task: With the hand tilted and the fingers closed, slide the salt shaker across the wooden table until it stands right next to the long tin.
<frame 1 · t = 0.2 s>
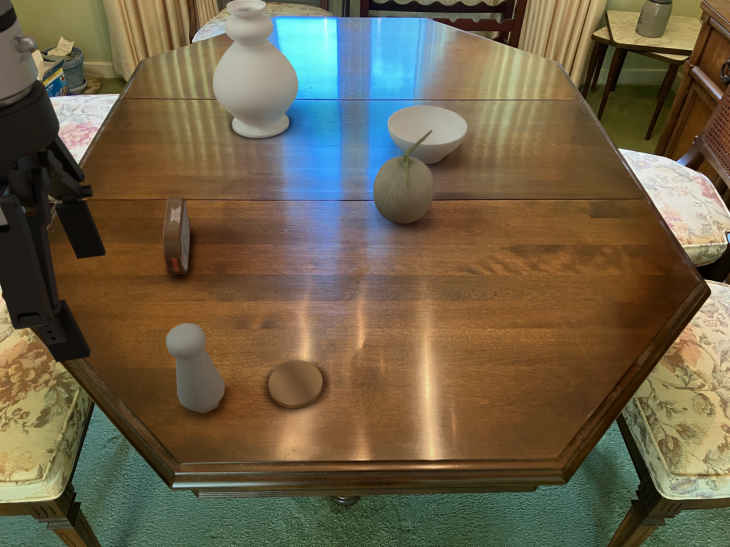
hand: (83, 301, 53), 22 cm above the table, tool pointing down, fingers open, 13 cm apart
fruit: (401, 219, 99), on the table
cork trivet: (296, 385, 72), on the table
bowl: (424, 155, 115), on the table
decorative vase: (261, 124, 123), on the table
salt shaker: (205, 400, 70), on the table
tin: (183, 255, 91), on the table
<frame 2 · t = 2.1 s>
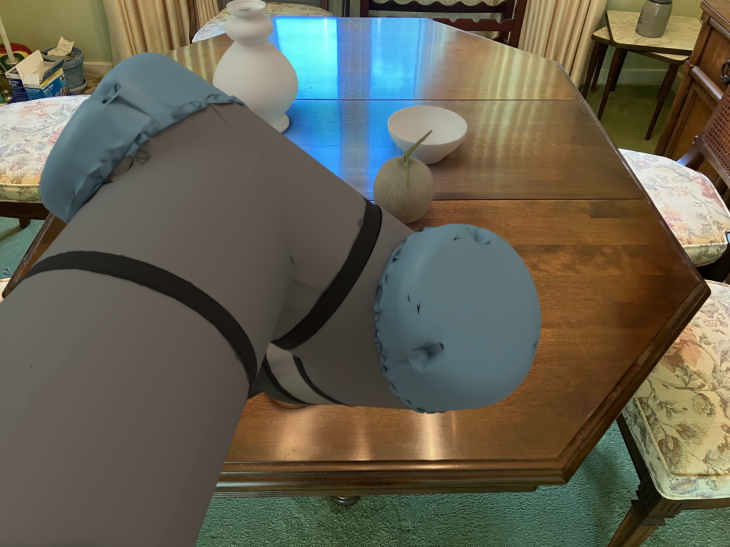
hand: (226, 360, 52), 18 cm above the table, tool tilted 45°, fingers open, 13 cm apart
nothing on the table moved.
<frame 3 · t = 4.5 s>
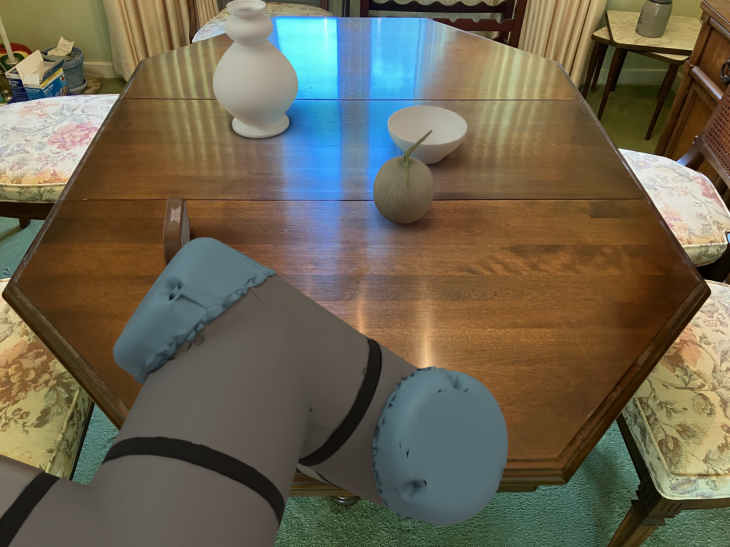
hand: (233, 406, 60), 9 cm above the table, tool tilted 45°, fingers closed
nothing on the table moved.
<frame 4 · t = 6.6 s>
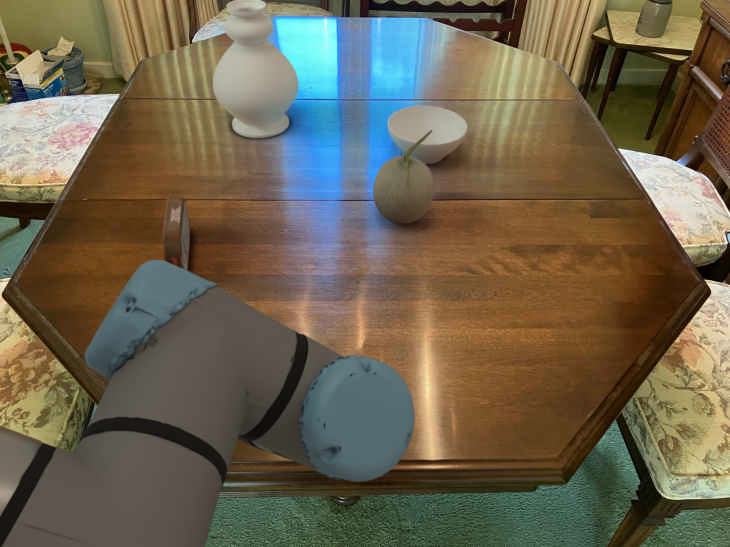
hand: (210, 395, 66), 4 cm above the table, tool tilted 45°, fingers closed
salt shaker: (205, 400, 70), on the table, touching gripper
everything else where it was.
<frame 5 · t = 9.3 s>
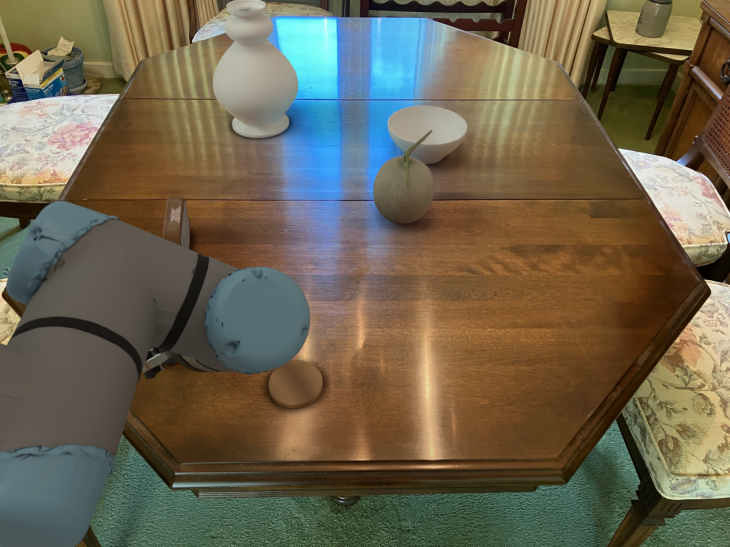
hand: (170, 343, 72), 4 cm above the table, tool tilted 45°, fingers closed
salt shaker: (171, 353, 76), on the table, touching gripper
everything else where it was.
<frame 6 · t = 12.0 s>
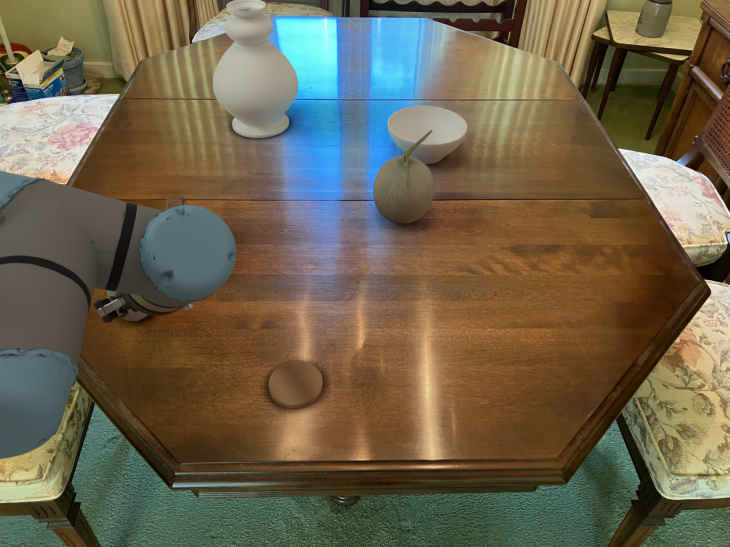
hand: (135, 301, 77), 4 cm above the table, tool tilted 45°, fingers closed
salt shaker: (138, 312, 81), on the table, touching gripper
everything else where it was.
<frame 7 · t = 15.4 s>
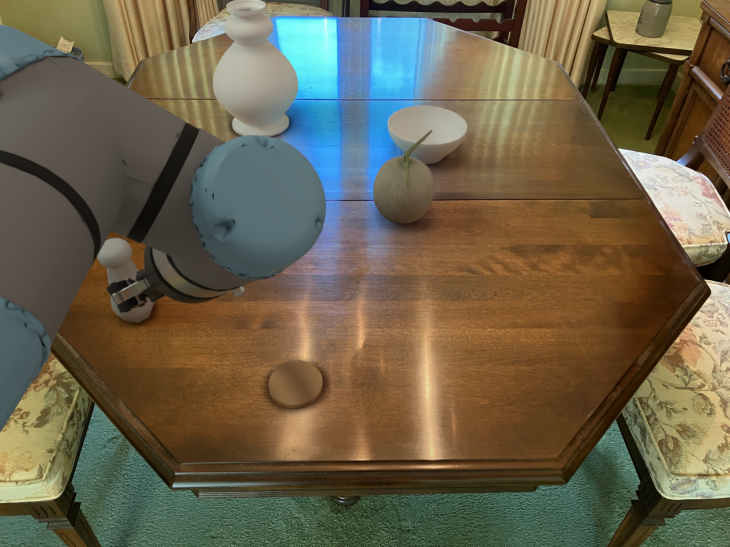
hand: (151, 289, 62), 16 cm above the table, tool tilted 45°, fingers closed
salt shaker: (137, 313, 81), on the table
everything else where it was.
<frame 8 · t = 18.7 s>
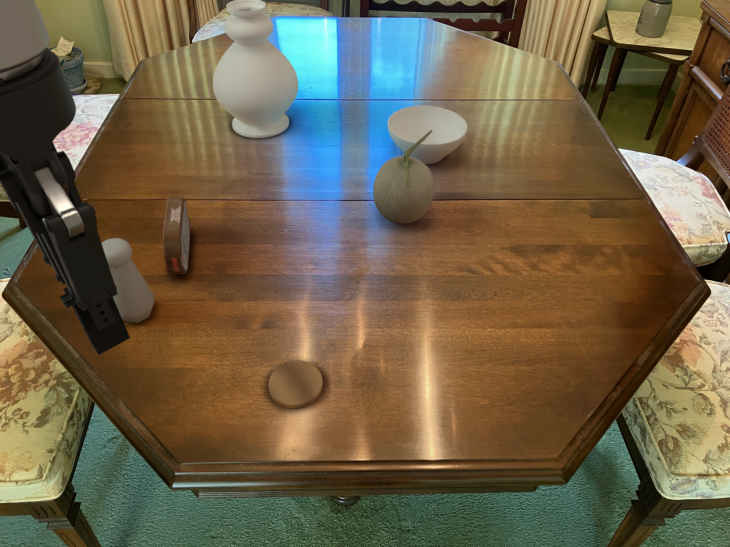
hand: (110, 341, 46), 24 cm above the table, tool pointing down, fingers closed
nothing on the table moved.
at the end: salt shaker inside the target area on the table beside the tin (1.3 cm from its centre), on the table; salt shaker tilted 0°; salt shaker moved 19.8 cm from its start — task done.
